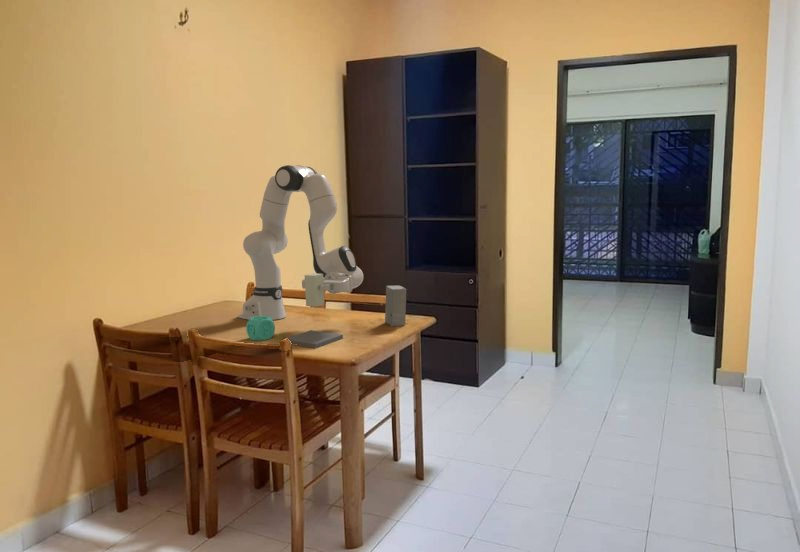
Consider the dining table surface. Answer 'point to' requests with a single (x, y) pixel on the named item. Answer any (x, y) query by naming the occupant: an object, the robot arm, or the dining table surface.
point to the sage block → (314, 290)
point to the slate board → (314, 338)
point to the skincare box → (395, 305)
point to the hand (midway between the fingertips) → (312, 287)
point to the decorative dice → (260, 328)
